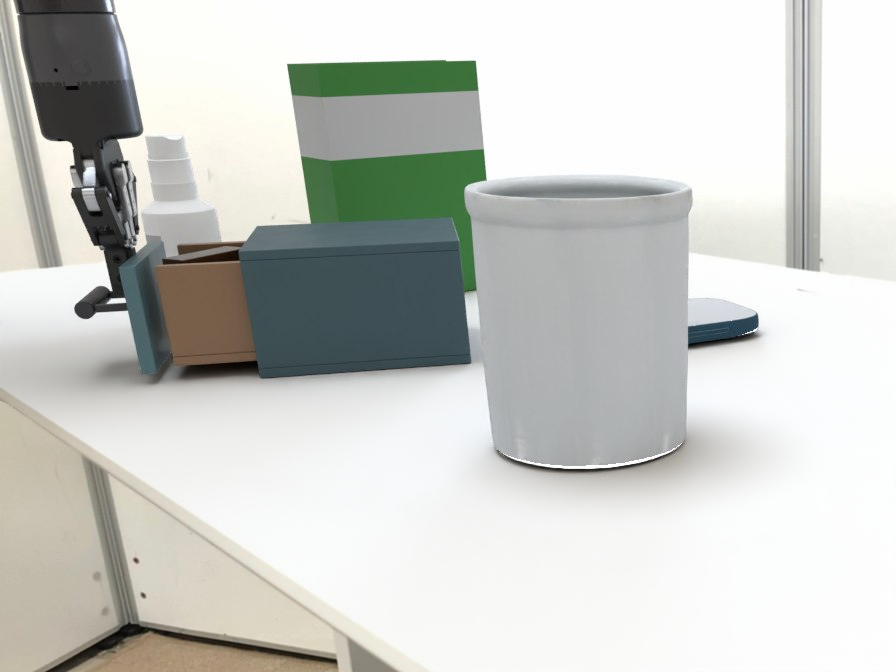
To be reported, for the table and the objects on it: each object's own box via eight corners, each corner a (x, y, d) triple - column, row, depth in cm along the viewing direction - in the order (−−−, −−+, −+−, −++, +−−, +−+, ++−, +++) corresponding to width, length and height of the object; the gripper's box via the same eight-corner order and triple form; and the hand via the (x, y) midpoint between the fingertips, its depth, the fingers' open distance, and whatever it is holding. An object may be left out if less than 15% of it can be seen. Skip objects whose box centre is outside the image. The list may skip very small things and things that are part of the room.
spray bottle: (206, 311, 126) (172, 131, 119) (250, 318, 123) (217, 133, 116) (148, 324, 121) (109, 136, 113) (193, 331, 117) (155, 138, 110)
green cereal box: (464, 277, 142) (441, 60, 133) (496, 286, 137) (475, 60, 128) (322, 298, 132) (286, 63, 122) (351, 308, 127) (317, 64, 117)
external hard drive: (713, 314, 123) (712, 295, 122) (771, 336, 113) (771, 315, 113) (492, 343, 112) (490, 322, 111) (537, 370, 103) (535, 347, 102)
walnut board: (178, 346, 104) (161, 258, 101) (240, 329, 109) (226, 245, 106) (199, 348, 103) (182, 260, 100) (261, 331, 108) (247, 247, 105)
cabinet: (260, 378, 101) (238, 251, 97) (275, 339, 114) (256, 225, 110) (471, 363, 105) (459, 240, 101) (463, 327, 118) (451, 217, 114)
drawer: (78, 378, 98) (53, 270, 95) (112, 341, 110) (91, 244, 107) (348, 360, 103) (333, 256, 100) (353, 326, 115) (339, 233, 111)
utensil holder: (648, 400, 94) (639, 167, 87) (733, 453, 82) (730, 188, 75) (463, 427, 88) (438, 179, 81) (526, 489, 76) (502, 204, 69)
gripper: (50, 75, 101) (98, 281, 108) (5, 80, 89) (62, 311, 96) (146, 72, 103) (187, 276, 110) (114, 77, 91) (162, 305, 98)
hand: (128, 292), depth 103 cm, fingers closed
